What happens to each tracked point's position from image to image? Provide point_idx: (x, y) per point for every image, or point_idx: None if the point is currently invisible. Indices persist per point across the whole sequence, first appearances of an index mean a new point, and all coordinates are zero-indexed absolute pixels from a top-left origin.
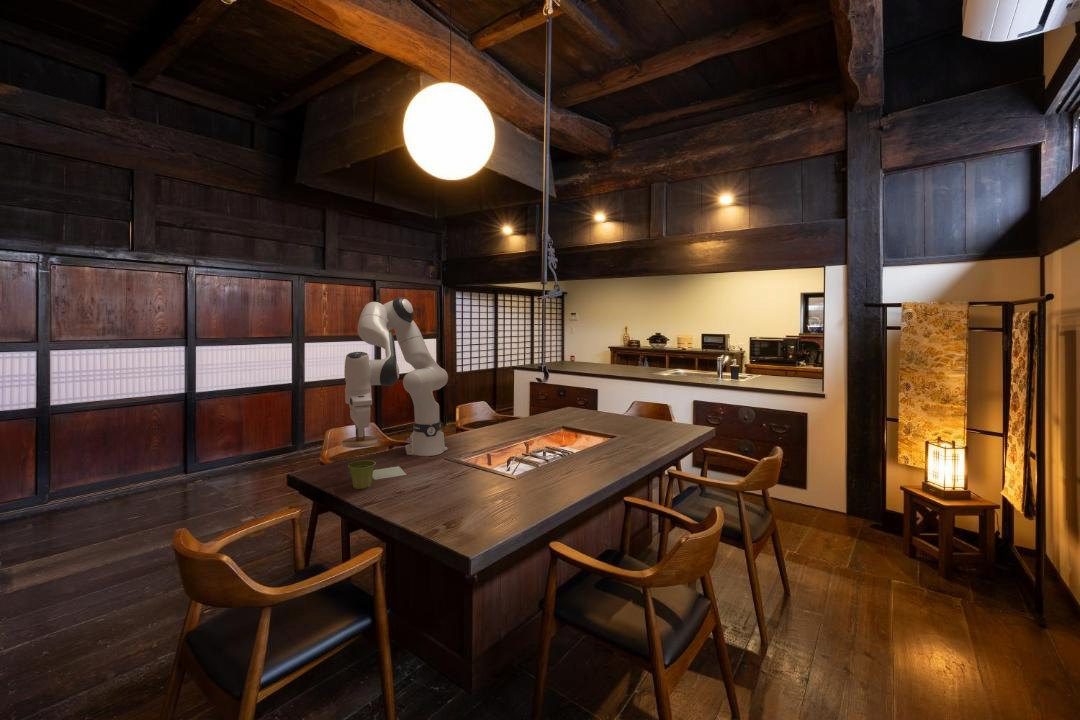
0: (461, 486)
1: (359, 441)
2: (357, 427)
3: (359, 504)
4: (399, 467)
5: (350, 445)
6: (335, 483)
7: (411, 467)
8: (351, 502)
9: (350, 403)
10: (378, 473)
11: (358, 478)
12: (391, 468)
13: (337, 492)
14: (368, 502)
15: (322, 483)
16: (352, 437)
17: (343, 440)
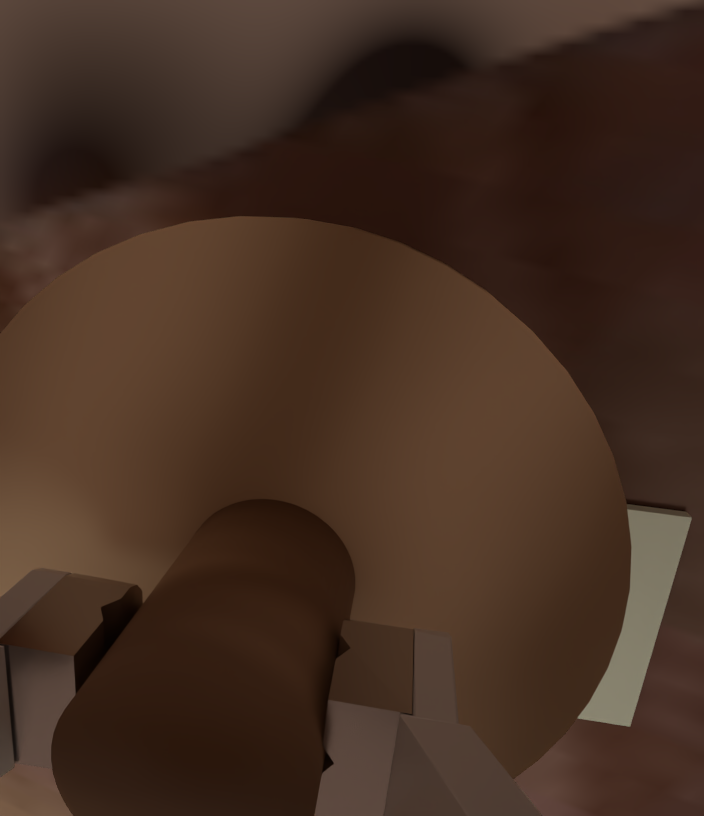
0: (38, 807)
1: (168, 532)
2: (428, 811)
3: (8, 245)
4: (595, 717)
5: (29, 318)
6: (592, 200)
7: (566, 775)
8: (70, 206)
9: None
10: None
11: None
12: (616, 669)
13: (344, 162)
14: (18, 308)
15: (681, 90)
16: (618, 528)
17: (464, 284)
